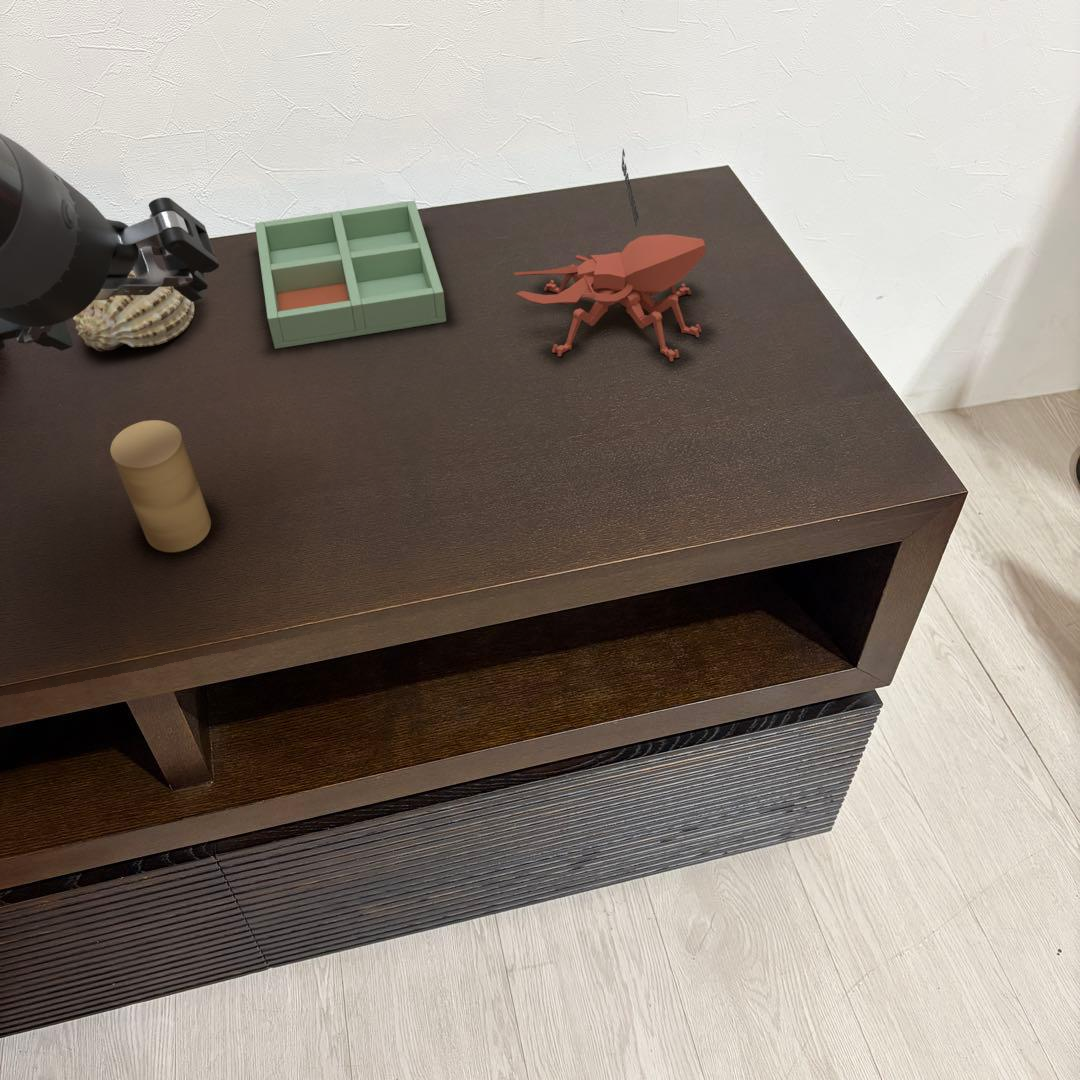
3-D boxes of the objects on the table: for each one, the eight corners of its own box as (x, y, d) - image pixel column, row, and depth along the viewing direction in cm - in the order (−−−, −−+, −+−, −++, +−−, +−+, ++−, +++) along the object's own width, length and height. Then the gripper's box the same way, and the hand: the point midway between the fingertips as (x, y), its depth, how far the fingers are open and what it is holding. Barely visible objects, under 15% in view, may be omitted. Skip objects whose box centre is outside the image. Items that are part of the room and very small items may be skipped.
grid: (274, 349, 88) (267, 318, 86) (261, 252, 97) (254, 222, 95) (446, 321, 90) (443, 291, 88) (417, 229, 99) (414, 200, 97)
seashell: (121, 328, 95) (60, 355, 85) (113, 257, 92) (50, 277, 83) (207, 334, 94) (155, 362, 85) (202, 263, 92) (148, 284, 82)
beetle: (685, 269, 95) (700, 131, 85) (710, 360, 86) (729, 218, 77) (512, 278, 94) (507, 140, 85) (520, 370, 86) (516, 229, 76)
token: (134, 526, 75) (97, 441, 69) (190, 495, 77) (160, 410, 71) (165, 562, 73) (131, 478, 67) (223, 529, 75) (194, 444, 69)
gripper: (111, 100, 51) (216, 212, 68) (-175, 205, 51) (-1, 292, 68) (165, 249, 51) (257, 326, 67) (-122, 355, 51) (40, 406, 67)
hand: (128, 309), depth 67 cm, fingers open, 8 cm apart
